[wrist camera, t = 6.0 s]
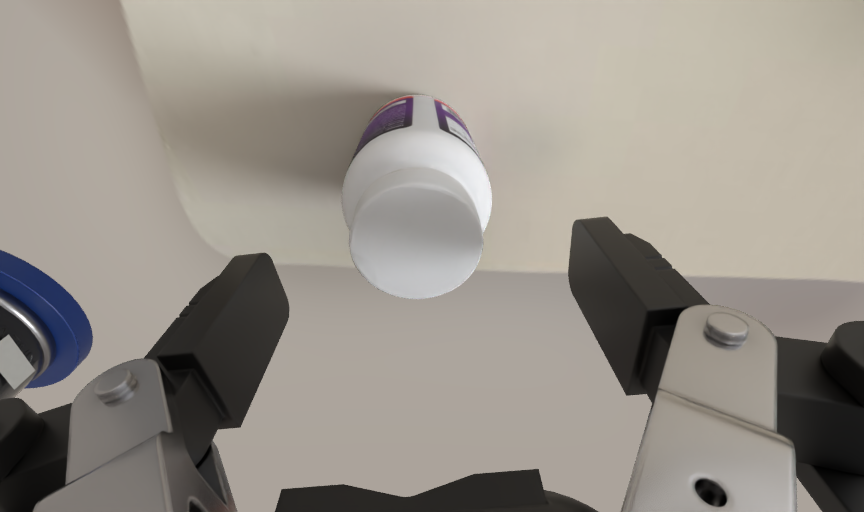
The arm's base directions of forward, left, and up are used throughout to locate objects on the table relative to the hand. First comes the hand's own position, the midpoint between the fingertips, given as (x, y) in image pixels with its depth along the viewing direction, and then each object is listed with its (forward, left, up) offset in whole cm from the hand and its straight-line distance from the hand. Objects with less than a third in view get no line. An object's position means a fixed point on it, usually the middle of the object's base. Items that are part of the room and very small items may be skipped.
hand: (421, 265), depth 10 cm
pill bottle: (0, 0, -11) cm, 11 cm away
